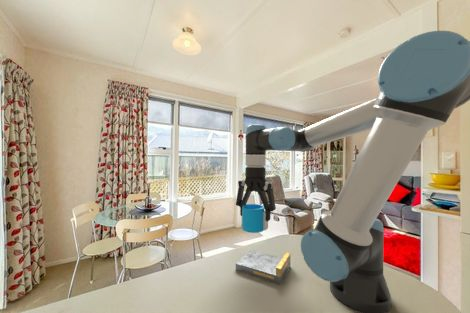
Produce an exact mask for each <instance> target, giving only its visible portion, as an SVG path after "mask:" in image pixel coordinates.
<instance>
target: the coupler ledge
mask: <svg viewBox="0 0 470 313" xmlns="http://www.w3.org/2000/svg"><path fill="white" fill-rule="evenodd" d="M290 269H291V253H290V252H285V254H284V255H283V257H280V256H276V255H273V254H272V255H271V254H267V253H263V252H259V251H256V250H251V249H249V250H248V252H246V253H245V254H244V255H243V256H241V258H240V259H239V260H238V261H237V262H236V263H235V271H236V272H238V273H242V274H246V275H249V276H251V277H254V278H257V279H261V280H263V281H268V282H270V283H273V284H277V285H279V286H281V285H282V283H283V282H284V279H285V278H286V276H287V274H288V273H289V270H290Z"/></svg>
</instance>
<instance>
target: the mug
mask: <svg viewBox="0 0 470 313" xmlns="http://www.w3.org/2000/svg"><path fill="white" fill-rule="evenodd" d="M264 211H265V209H264V206H263V204H256V203H246V205H243V206H242V216H241V229H242V231H244V232H246V233H253V234H257V233H259V234H260V233H262V232H263V231H265V230H263V212H264Z"/></svg>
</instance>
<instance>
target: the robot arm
mask: <svg viewBox="0 0 470 313" xmlns="http://www.w3.org/2000/svg"><path fill="white" fill-rule="evenodd" d="M378 70H379V71H378V73H377V84H378V87H379V92H378V95H377V97H376V98H373V99H371V100H368V101H366V102H364V103H361V104H359V105H356V106H354V107H351V108H349V109H347V110H344V111H342V112H339V113H337V114H335V115H332V116H330V117H328V118H325V119H323V120H321V121H319V122H316V123H313V124H311V125H309V126H306V127H303V128H302V129H298V130H295V129H294V130H293V129H291V127H289V126H277V127H274V128H267V127H266V125H264V124H249V125H247V126H246V129H245V163H244V164H245V166H246V167H245V179H244V180H242V179H241V180H238V182H237V184H238V185H237V186H238V190H237V194H236V202H235V206H237V207H239V209H240V211H239V213H240V214H239V215H240V216H241V217H242V206H243V205H246V204H248V201H249V198H250V196H251V194H252V192H255V193H256V192H257V193H258V195H259V197H260V200H261V203H262V206H264V212H263V230H264V231H266V230H268V229H269V222H270V221H271V212H274V211H275V210H276V209H277V208H276V202H275V194H274V190H273V189H274V183H273V182H269V181H267V180H266V171H267V170H266V167H265V166H266V161H267V160H266V158H267V156H266V155H267V154H266V152H267V151H277V152H278V151H281V152H301V153H304V152H309V151H312V150H313V149H314V148H315V147H319V146H321V145H325V144H328V143H332V142H335V141H338V140H341V139H344V138H347V137H350V136H354V135H357V134H361V133H362V132H366V131H369V133H368V134H367V137H366V139H365V141H364V142H363V145H362V147H361V149H360V151H359V153H358V154H357V157H356V159H355V162H354V163H353V165H352V167H351V170H350V171H349V174H348V175H347V177H346V179H345V181H344V183H343V185H342V188H341V190H340V192H339V193H338V196H337V197H336V200H335V201H334V204H333V206H332V207H331V210H325V211H323V212H322V213H321V215H320V217H319V219H318V221H317V223H316V226H315V227H314V228H313V229H311V230H310V229H309V230H307V232H305V233H304V234H303V236H302V237H301V240H300V251H301V254H302V256H303V260H304V262H305V263H306V265H307V267H308V268H309V269H310V271H311V272H312V273H313V274H315V276H316V277H318V278H320V279H321V280H323V281H325V282H326V281H327V282H329V289H330V291H331V292H330V293H332V295H333V296H334V297H335V298H336V299H337V300H338V301H339V302H340V303H342V304H344V305H345V306H347V307H350V308H352V309H354V310H357V311H359V312H362V313H387V312H389V311H390V310H391V308H392V295H391V292H390V290H389V286H388V284H387V281H386V278H385V275H384V245H385V244H384V242H385V240H384V238H385V236H384V235H385V231H384V224H383V222H382V220H380V219H379V218H378V217H379V215H380V213H381V212H382V209H383V208H384V207H385V204H386V203H387V201H388V200H389V198H390V196H391V194H392V192H393V191H394V190H395V187H397V184H398V183H399V181H400V179H401V178H402V177H403V174H404V173H405V171H406V169H407V168H408V166H409V164H410V162H411V161H412V159H413V158H414V156H415V155H416V152H417V151H418V149H419V147H420V145H421V144H422V142H423V141H424V139H425V137H426V136H427V134H428V132H429V131H431V130H432V129H436V128H438V127H442V126H444V125H445V124H446V123H447V121H448V119H450V116H451V115H452V113H453V111H454V110H455V109H457V108H459V107H460V106H463V105H465V104H466V103H468V102H469V101H470V40H469V39H467V38H466V37H464V36H463V35H462V34H459V33H457V32H455V31H449V30H432V31H427V32H423V33H420V34H418V35H415V36H413V37H411V38H409V39H407V40H406V41H404V42H403V43H400V44H399V45H398V46H396V47H395V48H394V49H392V50H391V51H390V53H389V54H388V55H386V58H385V59H384V60H383V61H382V63H381V65H380V67H379V69H378ZM245 185H246V189H245ZM265 188H266V191H265ZM244 191H245V192H244ZM266 193H267V195H266ZM267 197H268V198H267Z"/></svg>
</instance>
